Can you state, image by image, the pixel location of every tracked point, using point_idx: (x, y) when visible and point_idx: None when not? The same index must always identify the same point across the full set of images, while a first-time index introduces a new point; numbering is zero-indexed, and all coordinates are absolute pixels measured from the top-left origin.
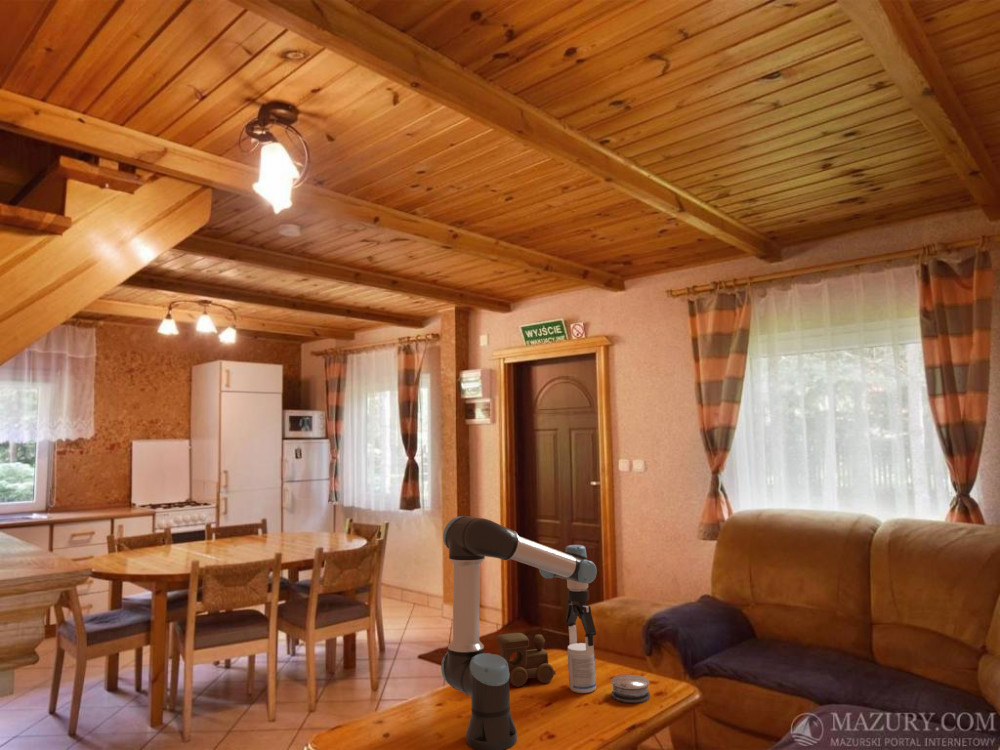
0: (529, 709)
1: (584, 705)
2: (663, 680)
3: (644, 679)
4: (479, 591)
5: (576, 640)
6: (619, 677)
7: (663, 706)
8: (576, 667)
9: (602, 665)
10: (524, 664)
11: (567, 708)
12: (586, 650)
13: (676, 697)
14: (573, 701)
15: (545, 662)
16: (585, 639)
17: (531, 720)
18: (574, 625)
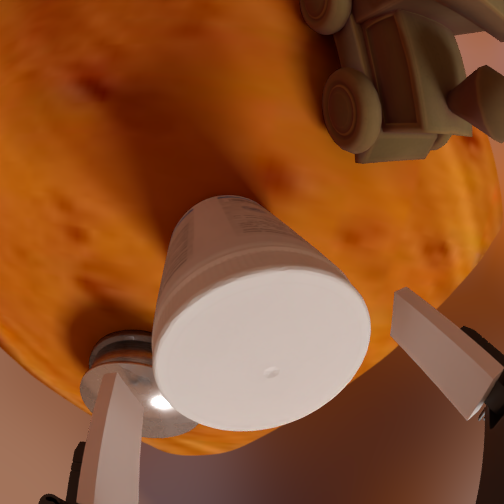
0: (72, 29)
1: (65, 226)
2: (250, 435)
3: (157, 433)
4: None
5: (403, 347)
6: None
7: None
8: (168, 261)
9: None
10: (364, 9)
11: (47, 161)
12: (100, 400)
13: None
14: (101, 189)
15: (391, 118)
16: (92, 476)
17: (5, 52)
18: (479, 408)
